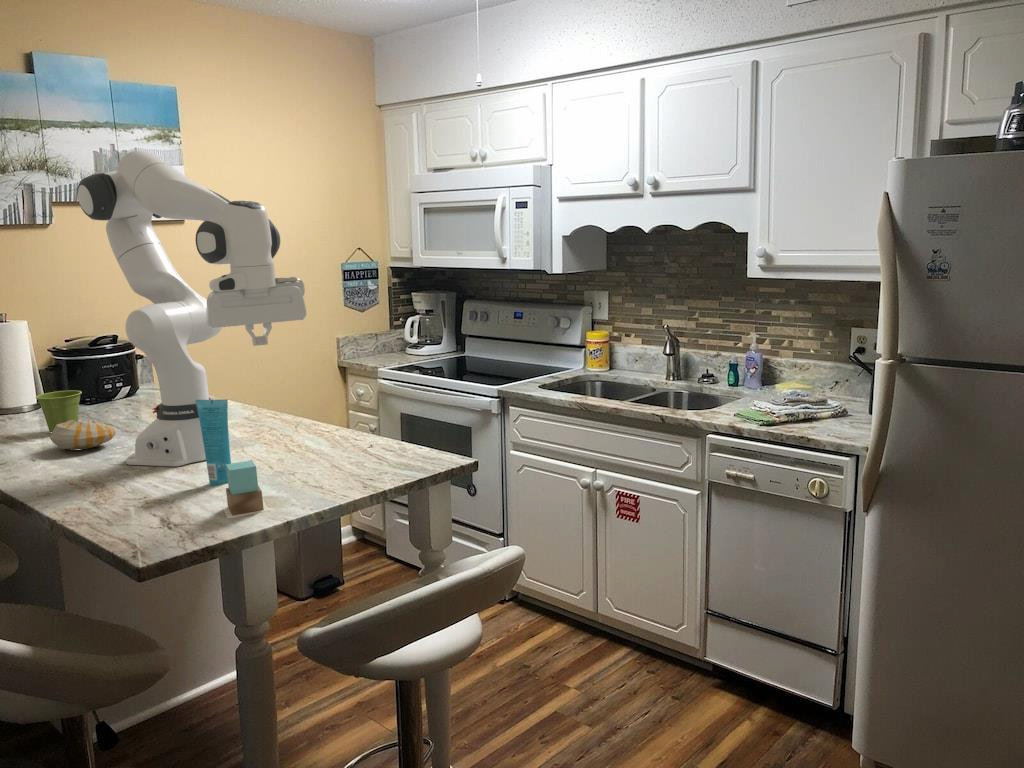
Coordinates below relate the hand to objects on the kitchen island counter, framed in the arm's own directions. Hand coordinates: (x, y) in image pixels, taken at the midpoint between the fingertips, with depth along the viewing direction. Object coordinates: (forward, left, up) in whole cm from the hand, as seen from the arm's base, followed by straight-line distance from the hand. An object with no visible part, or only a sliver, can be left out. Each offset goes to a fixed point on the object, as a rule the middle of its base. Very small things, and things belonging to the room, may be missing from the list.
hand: (260, 344), depth 178 cm
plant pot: (-82, +55, -31) cm, 104 cm away
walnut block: (0, -17, -30) cm, 35 cm away
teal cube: (0, -17, -26) cm, 31 cm away
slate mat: (0, -17, -31) cm, 35 cm away
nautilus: (-67, +37, -31) cm, 83 cm away
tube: (-13, +2, -31) cm, 34 cm away
